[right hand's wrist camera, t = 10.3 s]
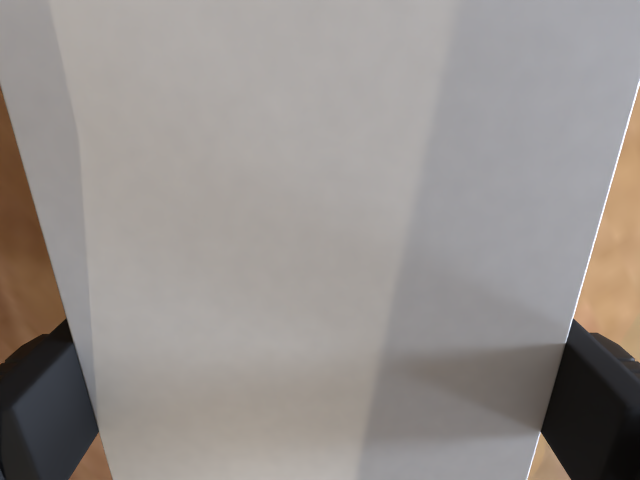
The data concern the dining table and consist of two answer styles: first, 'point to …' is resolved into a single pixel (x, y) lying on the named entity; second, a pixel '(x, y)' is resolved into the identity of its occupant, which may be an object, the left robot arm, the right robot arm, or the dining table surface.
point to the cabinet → (319, 221)
